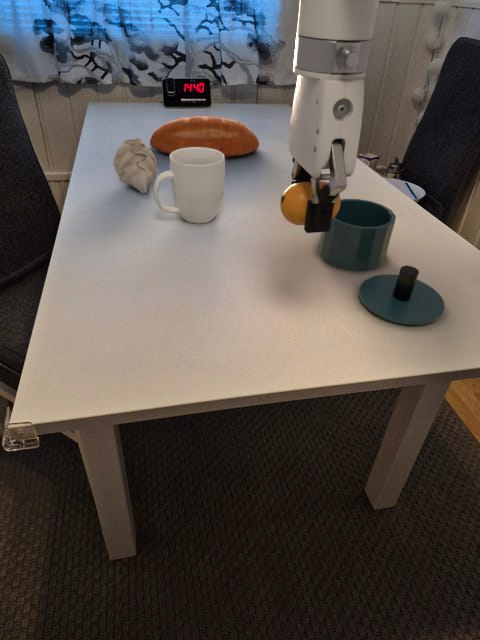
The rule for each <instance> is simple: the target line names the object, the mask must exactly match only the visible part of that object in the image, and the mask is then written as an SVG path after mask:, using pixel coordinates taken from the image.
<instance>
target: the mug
mask: <svg viewBox="0 0 480 640" xmlns="http://www.w3.org/2000/svg"><path fill="white" fill-rule="evenodd" d="M168 157H169V170H166V171H163V172H161V173H160V174H158V176H157V177H156V179H155V181H154V184H153V192H152V193H153V198H154V201H155V203H156V205H157V206H158V207H159V209H160V210H162V211H164V212H166V213H171V214H179V215H180V216H181V217H182V219H184V221H186V222H189V223H190V224H191V223H192V224H207V223H209V222H211V221H212V220H214V218H215V217H216V216H217V215H218V212H219V211H220V209H221V206H222V202H223V200H224V199H223V198H224V195H225V194H224V193H225V183H226V182H225V179H226V174H225V173H226V164H225V163H226V157H225V156H224V154H223V153H221V152H220V151H218V150H215V149H211V148H205V147H188V148H182V149H178V150H175V151H173V152H172V153H171V154H169V156H168ZM166 179H170V186H171V194H172V196H173V200H174V204H175V206H174V207H173V206H171V207H169V206H167V205H164V204H163V202H162V201H161V199H160V195H159V194H160V193H159V189H160V185H161V183H162V182H163V181H164V180H166Z"/></svg>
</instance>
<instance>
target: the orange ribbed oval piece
mask: <svg viewBox="0 0 480 640" xmlns="http://www.w3.org/2000/svg"><path fill="white" fill-rule="evenodd" d="M328 183H329V182H326V181H324V180H320V189H321V188H322V187H323V186H324V185H328ZM311 188H312V182H300V183H296V184H293V185H291V184H290V186H288V187H287V188H286V189H285V190H284V192H283V193H282V195H281V196H280V203H279V207H280V211H281V214H282V216H283V218H284V219H285V220H286V221H287V222H288V223H290V224H292V225H295V226H304V225H305V218H306V210H307V203H308V200H311ZM340 203H341V196H340V194H339V195H338V196H337V201H336V202H335V203H334V209H333V214H332V219H333V218H334V217H335V216H336V215H337V213H338V211H339V208H340Z"/></svg>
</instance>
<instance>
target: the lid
mask: <svg viewBox="0 0 480 640" xmlns="http://www.w3.org/2000/svg"><path fill="white" fill-rule="evenodd" d="M419 274H420V271H419V269H417V268H416V266H415V267H414V266H411V265H403V266H401V267H400V269H399V271H398V274H377V275H374V276H370V277H368V278H366V279H365V280H364V281H363V282H362V283H361V284H360V287H359V290H358V291H359V292H358V295H359V298H360V301H361V302H362V304H363V305H364V306H365V308H367V309H368V310H369V311H370V312H372V313H373V314H375V315H376V316H378V317H380V318H382V319H384V320H386V321H390V322H393V323H396V324H402V325H408V326H409V325H411V326H420V325H427V324H431V323H433V322H436V321H437V320H438V319H439V318H441V316H442V315H443V313H444V311H445V301H444V299H443V297H442V295H441V294H440V293H439V291H437V290H435V289H434V288H433V287H432V286H430V285H429V284H427V283H425V282H423V281H421V280H419V279H418V277H419Z"/></svg>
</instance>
